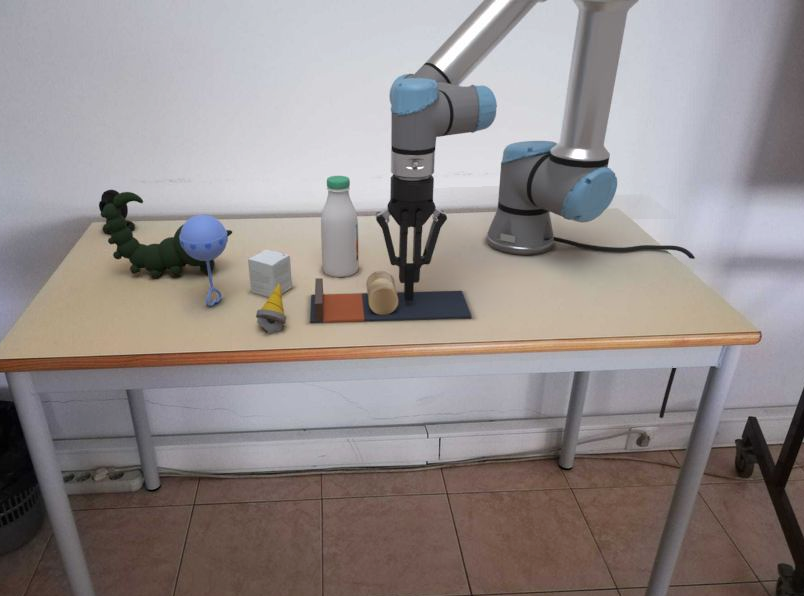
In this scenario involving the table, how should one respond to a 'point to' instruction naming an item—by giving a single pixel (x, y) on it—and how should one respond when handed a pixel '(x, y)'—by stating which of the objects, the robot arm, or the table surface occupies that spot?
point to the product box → (269, 272)
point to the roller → (382, 293)
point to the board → (418, 309)
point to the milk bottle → (339, 230)
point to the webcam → (108, 199)
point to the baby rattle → (204, 243)
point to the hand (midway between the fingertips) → (408, 297)
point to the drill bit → (272, 312)
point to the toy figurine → (142, 255)
